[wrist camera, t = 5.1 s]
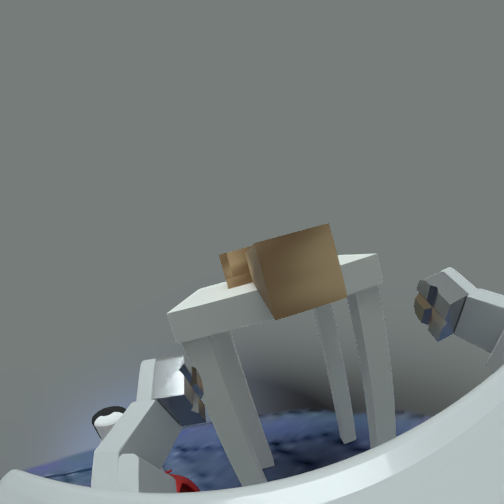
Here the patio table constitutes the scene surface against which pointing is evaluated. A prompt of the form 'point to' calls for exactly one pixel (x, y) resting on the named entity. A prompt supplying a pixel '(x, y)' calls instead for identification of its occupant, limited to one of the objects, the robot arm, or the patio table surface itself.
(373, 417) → the tall stand
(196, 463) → the patio table surface
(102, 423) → the medicine bottle
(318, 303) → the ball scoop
